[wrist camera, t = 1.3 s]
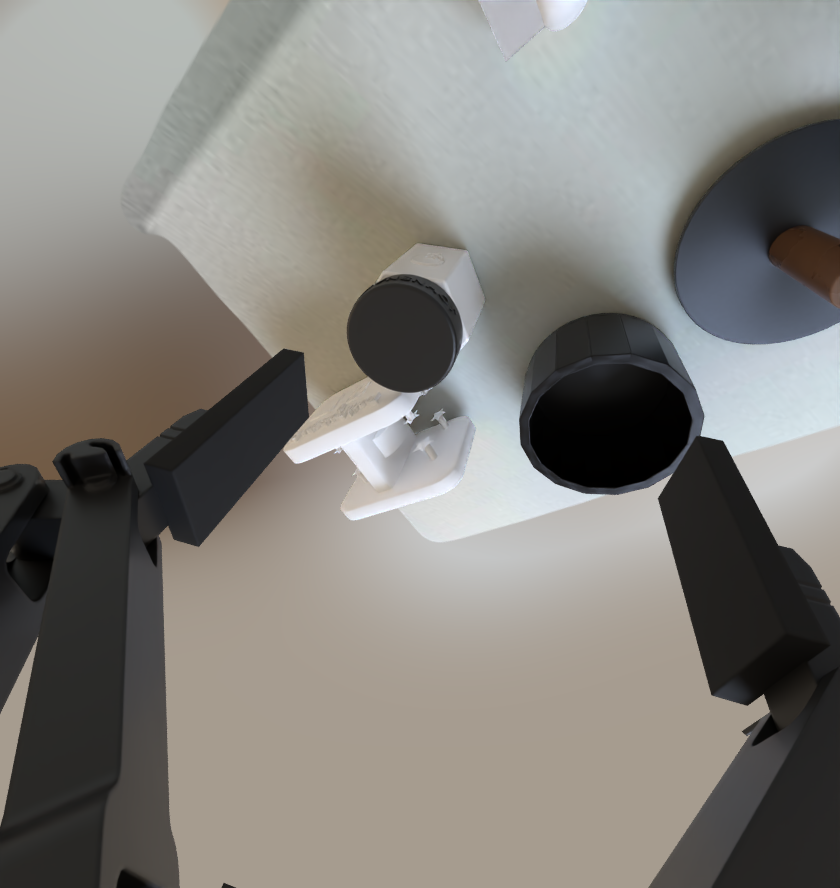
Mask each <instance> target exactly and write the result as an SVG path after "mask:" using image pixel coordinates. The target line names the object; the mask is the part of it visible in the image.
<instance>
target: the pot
mask: <svg viewBox="0 0 840 888" xmlns="http://www.w3.org/2000/svg"><path fill="white" fill-rule="evenodd" d="M703 421H704V413H703V410H702V407H701V404H700V401H699V398H698V395H697V392H696V389H695V387H694V385H693V383H692V381H691V379H690V377H689V375H688V373H687V371H686V369H685V367H684V365H683V363H682V361H681V359H680V357H679V355H678V353H677V351H676V349H675V347H674V345H673V344H672V342H671V341H670V340H668V339H667V337H666V336H665V335H664V334H663V333H662V332H661V331H660V330H658V329H657V328H656V327H655V326H653V325H652V324H650V323H648V322H646V321H644V320H642V319H639V318H637V317H634V316H629V315H625V314H617V313H602V314H594V315H589V316H585V317H582V318H579V319H576V320H574V321H571V322H569V323H567V324H565V325H563V326H562V327H560V328H559V329H557V330H556V331H554V332H553V333H552V334H551V335H549V336H548V337H547V338H546V339H545V340H544V341H543V342H542V344H541V345H540V346H539V347H538V349H537V350H536V351H535V353H534V355H533V357H532V359H531V361H530V364H529V367H528V370H527V372H526V375H525V382H524V389H523V396H522V403H521V410H520V418H519V424H520V442H521V446H522V448H523V450H524V451H525V453H526V455H527V457H528V458H529V460H530V462H531V463H532V465H533V467H534V468H535V469H536V470H538V471H539V472H540V473H542V474H543V475H544V476H546V477H547V478H548V479H550V480H551V481H552V482H554V483H555V484H557V485H560V486H563V487H566V488H569V489H572V490H575V491H578V492H581V493H585V494H610V495H616V494H617V495H619V494H623V493H627V492H631V491H635V490H639V489H644V488H648V487H650V486H652V485H654V484H655V483H657V482H659V481H660V480H662V479H664V478H666V477H667V476H669V475H671V474H672V473H674V472H675V470H676V468H677V467H678V465H679V463H680V462H681V460H682V459H683V457H684V455H685V454H686V452H687V450H688V449H689V447H690V446H691V444H692V442H693V441H694V439H695V437H696V436H700V434H701V430H702V425H703Z"/></svg>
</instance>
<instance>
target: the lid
mask: <svg viewBox="0 0 840 888" xmlns="http://www.w3.org/2000/svg"><path fill="white" fill-rule="evenodd" d="M674 283H675V288H676V292H677V295H678V298H679V300H680V303H681V305H682V306H683V308H684V309H685V311H686V313H687V314H688V316H689V317H690V318H691V319H692V320H693V321H694V322H695V323H696V324H697V325H698V326H700V327H701V328H702V329H703V330H705V331H707V332H708V333H710V334H712V335H714V336H716V337H719V338H722V339H724V340H728V341H732V342H736V343H744V344H771V343H780V342H785V341H790V340H795V339H798V338H802V337H805V336H808V335H811V334H814V333H817V332H819V331H822V330H824V329H827V328H829V327H831V326H833V325H835V324H837V323H839V322H840V119H835V120H827V121H822V122H818V123H814V124H810V125H806V126H803V127H800V128H797V129H795V130H792V131H789V132H787V133H785V134H782V135H780V136H778V137H776V138H774V139H772V140H770V141H768V142H766V143H765V144H763V145H761V146H760V147H758V148H756V149H755V150H753V151H752V152H750V153H749V154H747V155H746V156H745V157H743V158H742V159H741V160H739V161H738V162H737V163H735V164H734V165H733V166H732V167H731V168H730V169H729V170H727V171H726V172H725V173H724V174H723V175H722V176H721V177H720V178H719V179H718V180H717V181H716V182H715V183H714V184H713V185H712V186H711V188H710V189H709V190H708V191H707V192H706V194H705V195H704V196H703V198H702V199H701V200H700V201H699V203H698V204H697V206H696V207H695V209H694V211H693V212H692V214H691V215H690V217H689V219H688V221H687V223H686V225H685V227H684V229H683V231H682V234H681V237H680V240H679V243H678V246H677V250H676V255H675V261H674Z"/></svg>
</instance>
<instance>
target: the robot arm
mask: <svg viewBox="0 0 840 888" xmlns="http://www.w3.org/2000/svg"><path fill="white" fill-rule="evenodd" d="M308 418H309V413H308V401H307V388H306V376H305V363H304V353H302V352H298V351H293V350H288V349H283V350H281V351H280V352H279V353H278V354H276V355H275V356H274V357H273V358H272V359H270V360H269V361H268V362H267V363H265V364H264V365H263V366H262V367H261V368H259V369H258V370H257V371H256V372H254V373H253V374H252V375H251V376H250V377H249V378H247V379H246V380H245V381H243V382H242V383H241V384H240V385H239V386H237V387H236V388H235V389H234V390H232V391H231V392H230V393H229V394H228V395H226V396H225V397H224V398H223V399H221V400H220V401H219V402H218V403H217V404H215V405H214V406H213V407H212V408H210V409H209V410H203V409H199V410H197V411H194V412H192V413H190V414H187V415H185V416H183V417H182V418H181V419H179V420H178V421H177V422H175V423H174V424H173V425H171V427H170V429H169V428H168V429H166V430H165V431H164V432H162V433H161V434H160V437H156V438H155V439H154V440H152V441H151V442H150V443H148V444H147V445H146V446H144V447H143V448H142V449H141V450H139V451H138V452H137V453H136V454H134V455H133V456H132V457H131V458H129V459H128V460H127V461H126V459H125V457H124V454H123V452H122V450H121V447H120V445H119V444H118V443H116V442H115V441H113V440H109V439H102V438H100V439H89V440H85V441H81V442H77V443H75V444H73V445H71V446H69V447H66V448H65V449H64V450H63V451H61V452H60V453H58V454H57V455H56V457H55V459H54V460H53V464H54V466H55V467H56V469H57V471H58V473H59V474H60V476H61V478H62V479H63V480H44V479H43V477H42V476H41V474H40V472H39V471H38V469H37V468H36V467H34V466H32V465H28V464H15V465H8V466H4V467H0V713H1V711H2V709H3V707H4V705H5V703H6V701H7V698H8V696H9V694H10V693H11V690H12V688H13V686H14V684H15V682H16V680H17V678H18V676H19V674H20V672H21V670H22V668H23V666H24V664H25V662H26V659H27V658H28V656H29V654H30V652H31V649H32V647H33V645H34V643H35V641H36V639H37V637H38V642H37V647H36V652H35V657H34V662H33V667H32V672H31V677H30V682H29V688H28V693H27V698H26V703H25V708H24V713H23V718H22V724H21V728H20V734H19V739H18V744H17V749H16V754H15V759H14V764H13V769H12V774H11V780H10V785H9V790H8V795H7V800H6V805H5V810H4V815H3V819H2V822H1V826H0V888H180V886H179V868H178V857H177V851H176V846H175V842H174V838H173V835H172V831H171V826H170V816H169V792H168V791H169V788H168V755H167V720H166V719H167V718H166V686H165V684H166V683H165V651H164V650H165V649H164V616H163V579H162V545H161V541H160V538H159V534H160V533H161V532H162V531H163V530H164V529H165V528H166V527H167V526H169V529H170V531H171V534H172V536H173V539H174V540H177V541H180V542H184V543H187V544H191V545H194V546H198V547H199V546H200V545H201V544H202V542H203V541H204V540H205V539H206V538H207V537H208V535H209V534H210V533H211V532H212V531H213V529H214V528H215V527H216V526H217V525H218V524H219V522H220V521H221V520H222V519H223V518H224V517H225V515H226V514H227V513H228V512H229V511H230V509H231V508H232V507H233V506H234V505H235V503H236V502H237V501H238V500H239V499H240V497H242V495H243V494H244V493H245V492H246V491H247V489H248V488H249V487H250V486H251V485H252V484H253V482H254V481H255V480H256V479H257V478H258V476H259V475H260V474H261V473H262V472H263V470H264V469H265V468H266V467H267V466H268V465H269V464H270V462H271V461H272V460H273V459H274V458H275V456H276V455H277V454H278V453H279V452H280V450H281V449H282V448H283V447H284V445H286V443H287V442H288V441H289V440H290V439H291V438H292V436H293V435H294V434H295V433H296V432H297V430H298V429H299V428H300V427H301V426H302V425H303V423H304V422H305V421H306V420H307V419H308ZM658 500H659V504H660V508H661V511H662V515H663V518H664V522H665V526H666V529H667V533H668V537H669V541H670V544H671V548H672V551H673V555H674V559H675V563H676V566H677V570H678V574H679V577H680V581H681V585H682V588H683V592H684V596H685V599H686V603H687V607H688V611H689V614H690V617H691V622H692V625H693V629H694V633H695V636H696V640H697V644H698V647H699V651H700V655H701V658H702V662H703V666H704V669H705V673H706V677H707V680H708V684H709V688H710V691H711V695H713V696H716V697H719V698H723V699H727V700H729V701H733V702H736V703H740V704H744V705H747V706H748V705H749V704H751V703H752V702H753V701H755V700H756V699H757V698H759V697H760V696H762V695H763V694H764V695H765V699H766V701H767V704H768V707H769V710H770V713H768V714H767V715H765V716H764V717H762V718H761V719H759V720H758V721H756V722H755V723H753V724H752V725H751V726H749V727H747V728H746V729H745V730H743V731H742V732H743V733H744V734H745V735H746V736H748V735H750V736H749V738H748V739H747V740H746V742H745V743H744V745H743V746H742V748H741V749H740V751H739V752H738V754H737V756H736V757H735V759H734V760H733V761H732V763H731V765H730V766H729V768H728V769H727V771H726V772H725V774H724V775H723V776H722V778H721V780H720V781H719V783H718V784H717V786H716V787H715V789H714V790H713V791H712V793H711V795H710V796H709V798H708V799H707V800H706V802H705V804H704V805H703V806H702V808H701V810H700V811H699V813H698V814H697V816H696V817H695V819H694V820H693V822H692V823H691V825H690V826H689V828H688V829H687V831H686V832H685V834H684V835H683V837H682V838H681V840H680V841H679V843H678V844H677V846H676V847H675V849H674V850H673V852H672V853H671V855H670V856H669V858H668V859H667V861H666V862H665V864H664V865H663V867H662V868H661V870H660V871H659V873H658V874H657V876H656V877H655V879H654V880H653V882H652V883H651V885H650V886H649V888H840V617H839V615H838V613H837V612H836V610H835V608H834V606H831V605H830V602H831V601H830V600H829V598H828V596H827V594H826V593H825V591H824V590H822V589H821V587H822V586H821V584H820V582H819V580H818V579H817V577H816V575H815V574H814V572H813V570H812V568H811V567H810V566H809V565H808V564H807V563H806V562H805V561H804V560H803V559H802V558H801V557H800V556H799V555H798V554H797V553H796V552H795V551H794V550H793V549H791V548H787V547H782V546H778V544H777V543H776V540H775V538H774V537H773V535H772V533H771V531H770V529H769V527H768V525H767V523H766V521H765V519H764V518H763V516H762V514H761V512H760V510H759V508H758V506H757V504H756V503H755V501H754V499H753V497H752V495H751V493H750V491H749V489H748V487H747V485H746V484H745V482H744V480H743V478H742V476H741V474H740V472H739V470H738V469H737V467H736V464H735V463H734V461H733V459H732V457H731V455H730V453H729V451H728V449H727V447H726V446H725V444H724V442H723V441H721V440H716V439H711V438H707V437H702V436H696V437H695V439H694V441H693V442H692V444H691V446H690V447H689V449H688V450H687V452H686V454H685V455H684V457H683V459H682V460H681V462H680V463H679V465H678V467H677V468H676V470H675V472H674V473H673V475H672V477H671V478H670V480H669V481H668V483H667V485H666V486H665V488H664V489H663V491H662V493H661V494H660V496H659V498H658ZM10 550H11V551H10ZM9 552H10V553H9ZM38 635H39V636H38ZM222 888H235V887H233V886H230V885H228V884H225V883H224V884H223V886H222Z"/></svg>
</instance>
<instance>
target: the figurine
mask: <svg viewBox="0 0 840 888" xmlns="http://www.w3.org/2000/svg"><path fill="white" fill-rule="evenodd" d="M478 1H479V3H480V5H481V8H482V10H483V12H484V14H485V17H486V19H487V21H488V23H489V25H490V28H491V30H492V32H493V34H494V37H495V39H496V41H497V43H498V45H499V48H500V50H501V52H502V54H503V57H504V59H505V61H507V60H508V59H510V58H511V57H512V56H513V55H514V54H515V53H516V52H517V51H519V50H520V49H521V48H522V47H523V46H524V45H525V44H526V43H528V42H529V41H530V40H531V39H532V38H533V37H534V36H535V35H537V34H538V33H539V32H540V31H541V30H542V29H543V28H544V27H546V28H547V29H548V30H550V31H559V30H562V29H564V28H565V27H567V26H568V25H570V24H571V23H572V22H573V21H574V20H575V19H576V18H577V17H578V16H579V15H580V13H581V12H582V10H583V9H584V7H585V5H586V2H587V0H478Z"/></svg>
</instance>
